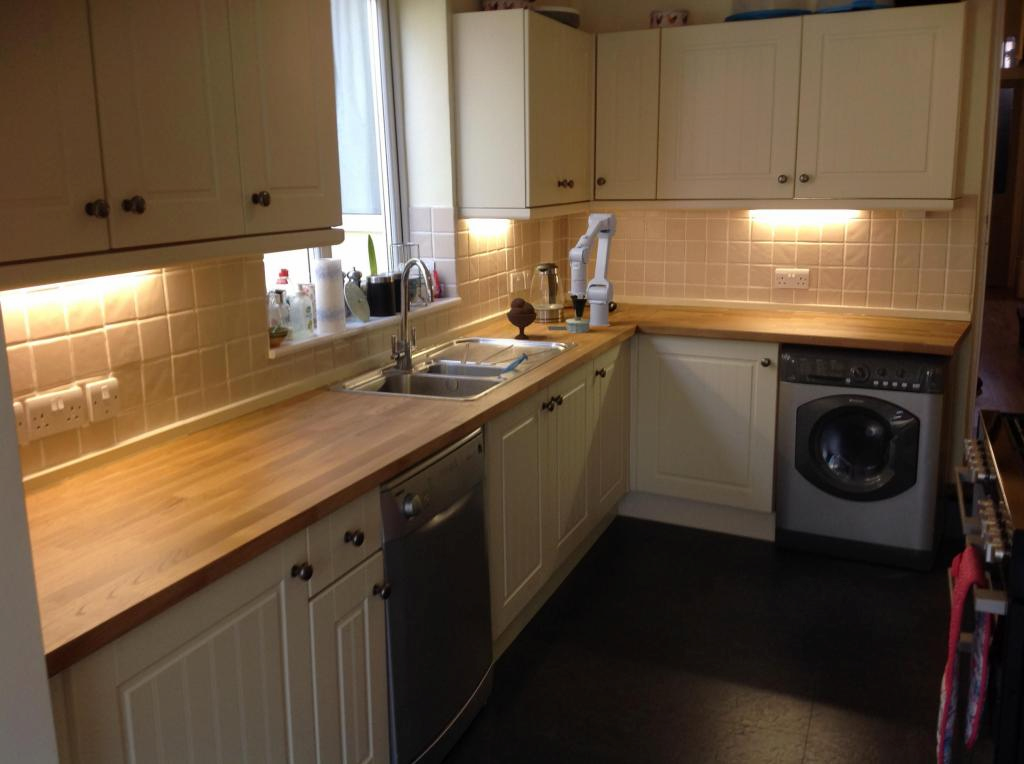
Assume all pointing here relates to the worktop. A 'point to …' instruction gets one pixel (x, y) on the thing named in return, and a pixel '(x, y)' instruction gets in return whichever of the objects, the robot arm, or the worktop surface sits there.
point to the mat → (557, 328)
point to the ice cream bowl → (521, 316)
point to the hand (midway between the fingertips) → (578, 315)
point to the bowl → (578, 328)
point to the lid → (577, 320)
